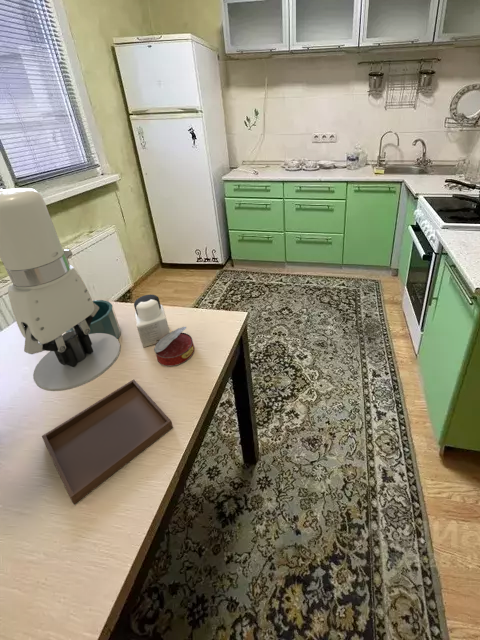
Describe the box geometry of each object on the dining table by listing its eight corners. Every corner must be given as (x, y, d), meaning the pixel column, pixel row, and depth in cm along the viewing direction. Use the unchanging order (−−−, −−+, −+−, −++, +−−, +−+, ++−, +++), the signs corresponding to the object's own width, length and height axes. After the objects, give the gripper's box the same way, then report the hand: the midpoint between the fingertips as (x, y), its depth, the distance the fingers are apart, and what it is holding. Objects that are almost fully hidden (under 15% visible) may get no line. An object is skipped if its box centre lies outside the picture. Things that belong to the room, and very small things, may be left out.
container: (140, 332, 97) (129, 296, 91) (167, 324, 100) (158, 288, 94) (143, 348, 91) (131, 310, 85) (171, 339, 94) (162, 302, 88)
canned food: (172, 379, 86) (147, 364, 80) (163, 353, 94) (140, 337, 87) (206, 351, 88) (185, 334, 81) (195, 328, 95) (174, 310, 88)
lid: (49, 408, 51) (33, 379, 48) (26, 366, 59) (11, 339, 56) (134, 359, 60) (125, 332, 57) (104, 328, 68) (95, 303, 65)
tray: (74, 504, 56) (70, 498, 55) (45, 442, 67) (41, 436, 66) (173, 427, 69) (171, 420, 68) (135, 385, 79) (133, 379, 78)
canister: (81, 361, 87) (70, 334, 83) (66, 340, 95) (54, 314, 90) (128, 337, 95) (119, 311, 91) (110, 320, 103) (101, 295, 99)
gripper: (71, 245, 58) (100, 326, 67) (-36, 292, 45) (18, 385, 53) (101, 251, 56) (128, 334, 64) (-3, 302, 42) (48, 399, 51)
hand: (78, 356), depth 59 cm, fingers closed on lid, 2 cm apart
